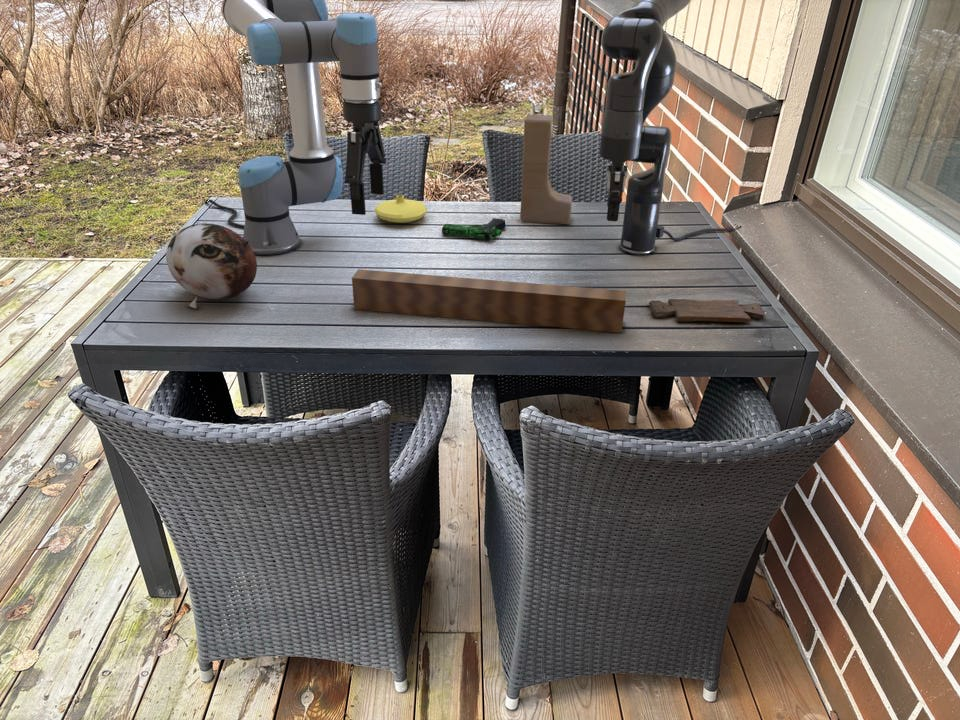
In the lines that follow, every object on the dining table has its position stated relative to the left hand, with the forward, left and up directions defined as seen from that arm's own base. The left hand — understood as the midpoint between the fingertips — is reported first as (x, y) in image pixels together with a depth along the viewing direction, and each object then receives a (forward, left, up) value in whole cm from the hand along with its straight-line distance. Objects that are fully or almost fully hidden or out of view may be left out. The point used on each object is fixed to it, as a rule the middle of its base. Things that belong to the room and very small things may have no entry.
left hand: (368, 203), depth 153 cm
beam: (+24, +11, -25) cm, 36 cm away
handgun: (-7, +54, -25) cm, 59 cm away
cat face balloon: (-34, -17, -25) cm, 45 cm away
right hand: (+47, +21, +1) cm, 52 cm away
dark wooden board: (+65, +41, -25) cm, 80 cm away
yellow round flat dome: (-32, +50, -25) cm, 64 cm away
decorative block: (+4, +75, -25) cm, 79 cm away
